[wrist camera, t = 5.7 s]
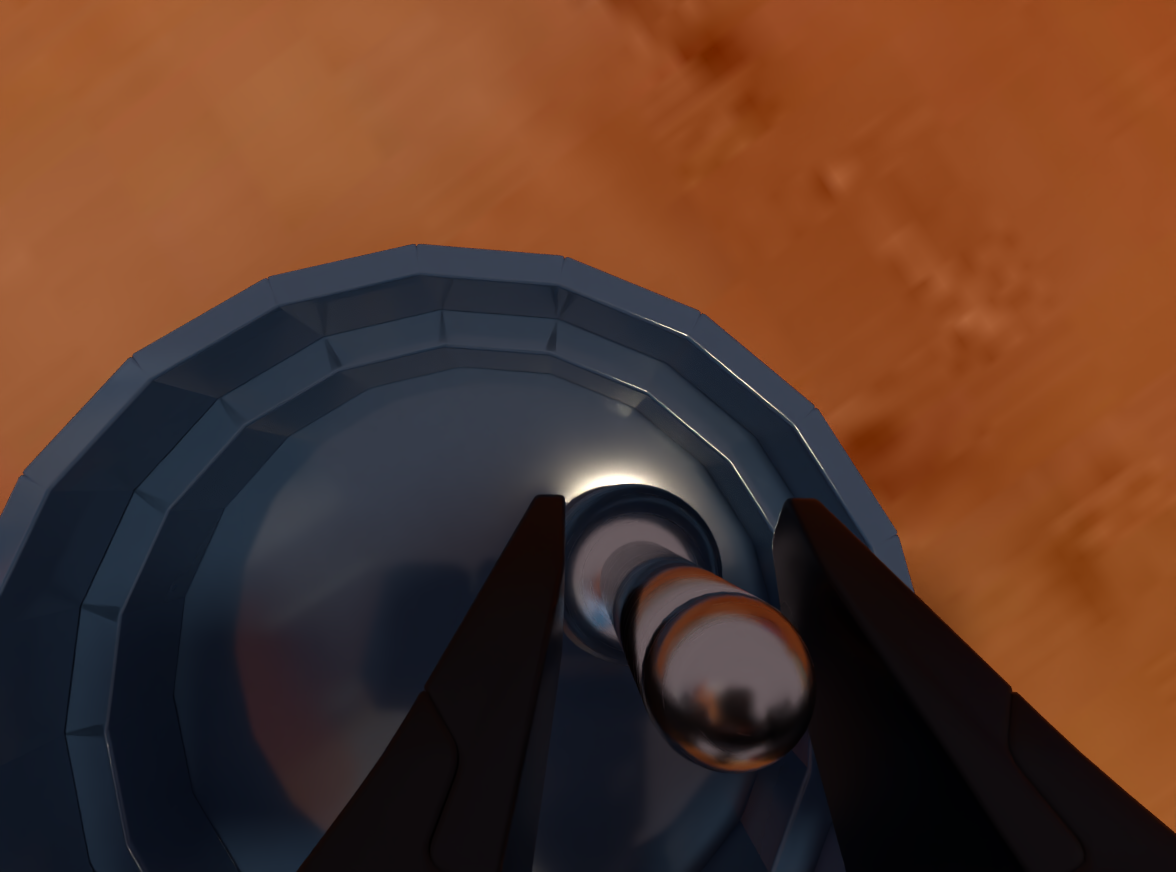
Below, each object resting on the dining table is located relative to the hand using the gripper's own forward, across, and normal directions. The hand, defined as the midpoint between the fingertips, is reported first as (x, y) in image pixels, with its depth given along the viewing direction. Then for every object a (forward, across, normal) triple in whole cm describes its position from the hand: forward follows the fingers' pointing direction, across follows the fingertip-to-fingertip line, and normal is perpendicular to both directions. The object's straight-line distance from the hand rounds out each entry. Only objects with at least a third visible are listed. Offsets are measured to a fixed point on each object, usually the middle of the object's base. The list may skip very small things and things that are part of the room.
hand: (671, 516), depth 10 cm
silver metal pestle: (+4, 0, +6) cm, 7 cm away
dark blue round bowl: (+3, +3, +8) cm, 10 cm away
